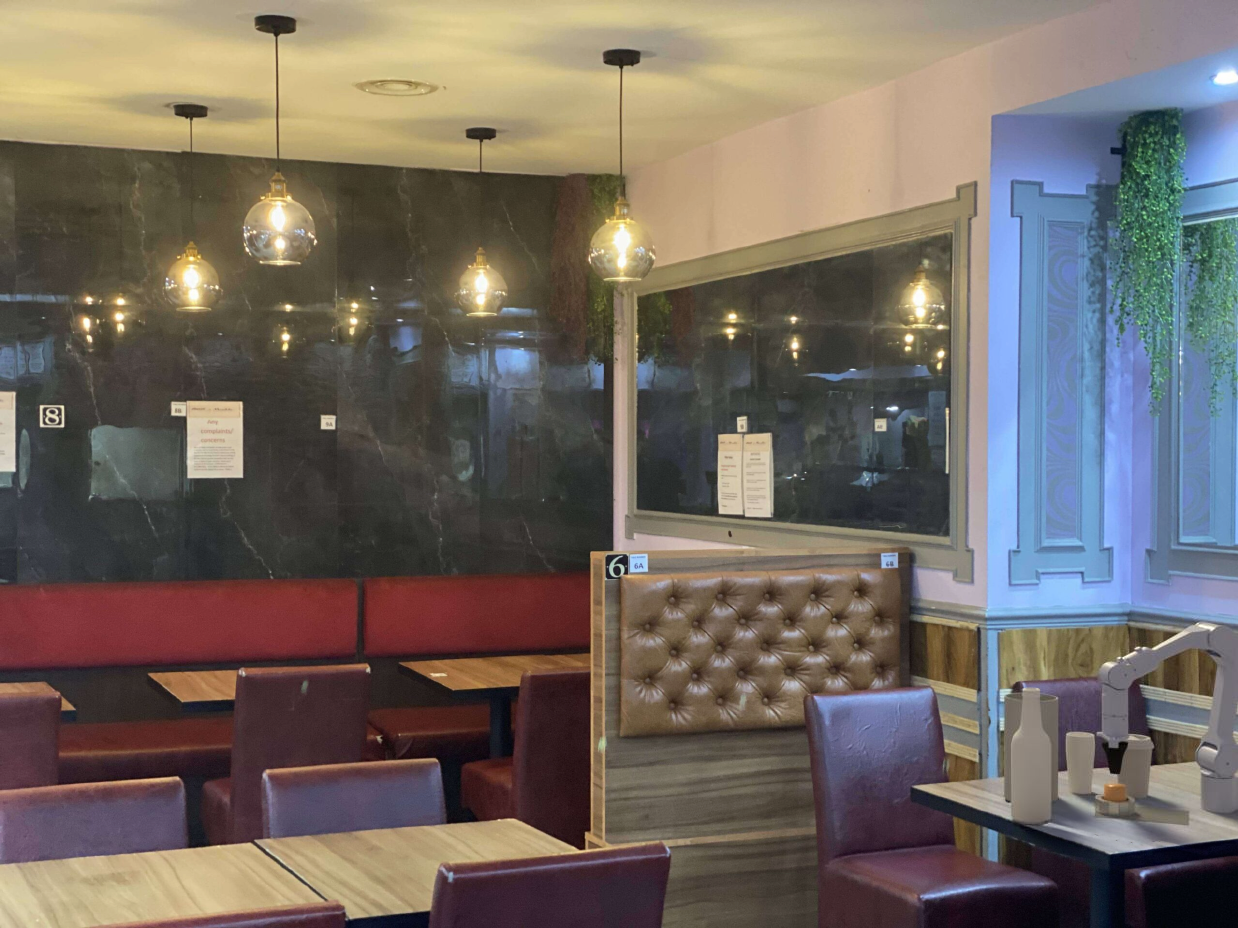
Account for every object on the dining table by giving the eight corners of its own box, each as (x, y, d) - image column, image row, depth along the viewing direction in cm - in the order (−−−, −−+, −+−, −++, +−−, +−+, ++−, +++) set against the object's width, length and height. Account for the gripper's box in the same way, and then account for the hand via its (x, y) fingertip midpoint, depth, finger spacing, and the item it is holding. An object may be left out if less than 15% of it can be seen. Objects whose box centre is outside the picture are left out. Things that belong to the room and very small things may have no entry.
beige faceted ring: (1109, 804, 337) (1109, 792, 337) (1142, 812, 330) (1142, 799, 330) (1087, 810, 332) (1087, 797, 332) (1120, 817, 325) (1120, 804, 325)
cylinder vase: (1066, 799, 347) (1066, 696, 347) (1045, 809, 337) (1045, 702, 337) (1017, 791, 355) (1017, 690, 355) (995, 801, 345) (995, 697, 345)
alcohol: (1034, 814, 333) (1034, 684, 332) (1059, 822, 324) (1059, 690, 324) (1003, 817, 329) (1003, 686, 329) (1027, 826, 321) (1027, 692, 321)
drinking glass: (1096, 799, 347) (1096, 737, 347) (1067, 797, 349) (1067, 736, 349) (1092, 792, 354) (1093, 732, 354) (1064, 791, 355) (1064, 730, 355)
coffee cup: (1154, 804, 342) (1154, 741, 341) (1112, 801, 345) (1112, 739, 345) (1153, 796, 351) (1153, 734, 351) (1112, 793, 354) (1112, 732, 354)
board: (1093, 820, 326) (1093, 816, 326) (1097, 807, 339) (1097, 802, 339) (1188, 829, 319) (1188, 824, 319) (1188, 814, 332) (1188, 810, 332)
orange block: (1113, 807, 334) (1113, 781, 334) (1130, 812, 330) (1130, 785, 330) (1099, 810, 332) (1099, 784, 332) (1116, 814, 328) (1116, 788, 328)
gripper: (1098, 708, 339) (1098, 765, 339) (1094, 718, 326) (1094, 778, 326) (1130, 710, 337) (1130, 768, 337) (1127, 720, 323) (1127, 780, 323)
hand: (1115, 773), depth 331 cm, fingers closed
